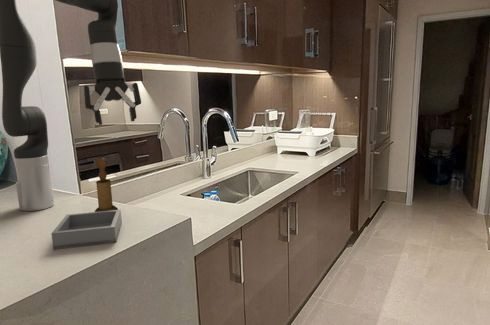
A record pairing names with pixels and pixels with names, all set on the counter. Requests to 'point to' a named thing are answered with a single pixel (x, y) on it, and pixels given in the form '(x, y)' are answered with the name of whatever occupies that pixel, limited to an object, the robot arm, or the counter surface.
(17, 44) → the robot arm
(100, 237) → the tray
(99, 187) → the turned wooden knob
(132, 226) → the counter surface
